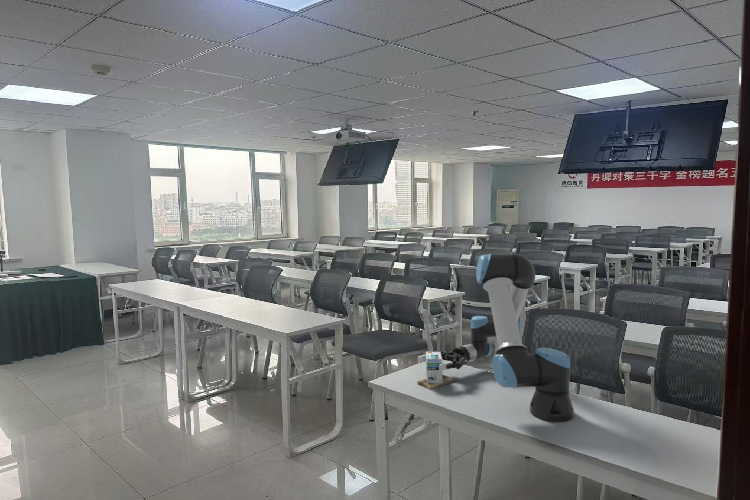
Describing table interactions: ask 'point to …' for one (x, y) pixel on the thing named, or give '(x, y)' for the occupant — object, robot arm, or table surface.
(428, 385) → the subfloor panel
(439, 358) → the light bulb box
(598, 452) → the table surface
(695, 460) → the table surface
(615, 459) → the table surface
